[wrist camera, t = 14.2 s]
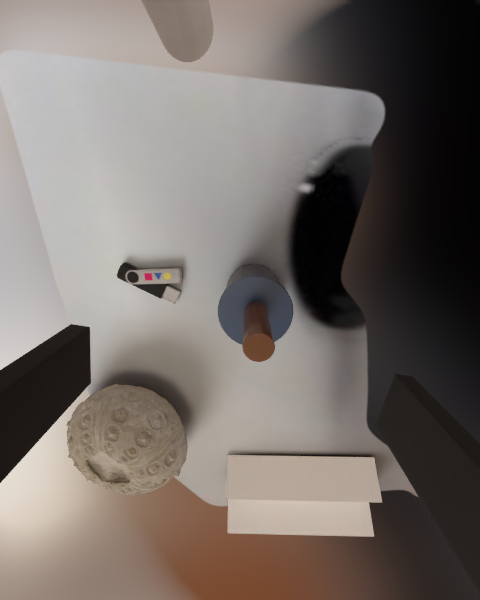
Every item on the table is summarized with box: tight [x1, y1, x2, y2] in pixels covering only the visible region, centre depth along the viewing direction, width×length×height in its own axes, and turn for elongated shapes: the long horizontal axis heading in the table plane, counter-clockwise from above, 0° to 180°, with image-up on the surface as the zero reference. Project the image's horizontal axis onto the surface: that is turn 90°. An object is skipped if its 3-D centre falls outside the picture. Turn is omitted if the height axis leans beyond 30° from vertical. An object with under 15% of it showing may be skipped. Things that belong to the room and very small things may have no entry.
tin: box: [227, 264, 280, 287], centre depth 34 cm, size 7×7×8 cm
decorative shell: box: [67, 384, 187, 496], centre depth 40 cm, size 18×18×10 cm
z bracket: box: [226, 455, 382, 537], centre depth 46 cm, size 12×25×6 cm
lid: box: [218, 275, 293, 362], centre depth 26 cm, size 8×8×9 cm
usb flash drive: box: [117, 263, 183, 304], centre depth 37 cm, size 9×5×1 cm, turn 63°
